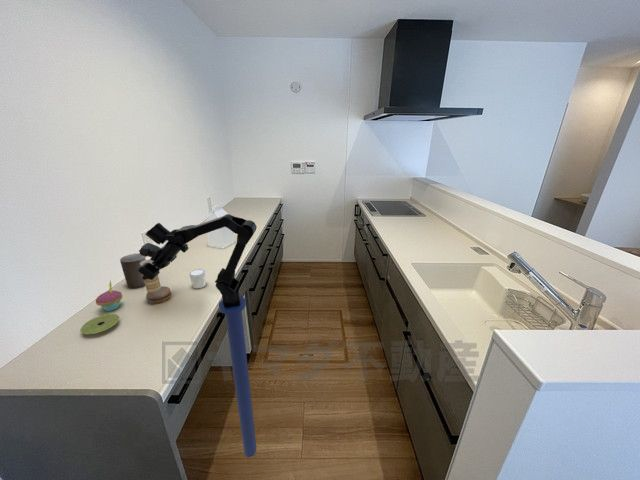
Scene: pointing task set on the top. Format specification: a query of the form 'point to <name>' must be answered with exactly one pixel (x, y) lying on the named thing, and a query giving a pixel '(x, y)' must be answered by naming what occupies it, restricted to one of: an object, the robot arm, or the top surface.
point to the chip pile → (159, 295)
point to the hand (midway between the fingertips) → (147, 275)
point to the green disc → (99, 324)
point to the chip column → (151, 284)
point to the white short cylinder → (198, 278)
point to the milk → (219, 230)
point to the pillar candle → (133, 270)
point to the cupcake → (109, 299)
